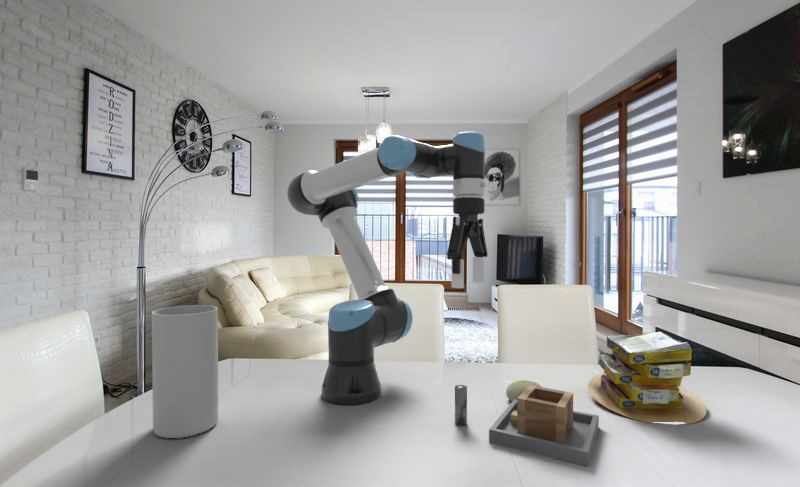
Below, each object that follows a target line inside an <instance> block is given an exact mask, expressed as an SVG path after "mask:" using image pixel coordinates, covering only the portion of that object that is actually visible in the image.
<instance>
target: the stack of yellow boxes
mask: <svg viewBox="0 0 800 487" xmlns="http://www.w3.org/2000/svg"><path fill="white" fill-rule="evenodd" d="M606 348H608V349H610V351H611V353H608V352H604V351H601V350H599V349H598V352H599V353H598V355H599V356H598V357H599V360H598V366H600V367H601V368H602V370H603V373H600V374H597V375H595V376H593V377H592V378H591V379H590V380H589V381H588V383H587V390H588V392H589V394H590V395H591V397H592V398H593V399H594V400H595V401H596V402H598V403H599V404H600V405H602V406H603V407H605V408H606V409H608V410H611V411H613V412H615V413H616V414H619V415H622V416H624V417H627V418H630V419H633V420H636V421H639V422H645V423H649V424H654V423H653V422H676V421H677V422H684V423H689V424H688V425H690V424H694V423H697V422H700V421H702V419H704V418H705V417H706V415H707V407H706V405H705V403H704V401H703V400H702V399H701V398H700V397H699V396H698V395H696V394H695V393H693V392H692V391H691V390H690V389H687V388H685V387H683V386H681V383H682V379H683V377H687V376H688V377H689V376H690V375H691V372H692V371H691V369H692V363H691V362H689V361H692V358H693V357H692V355H693V349H692V347H691V345H690V344H689V342H688V341H687V342H681V341H679V340H677V339H676V338H673V337H671V335H668V334H665V333H663V332H662V331H656V332H651V333H644V334H640V333H637V334H636V333H632V334H628V335H626V334H617V335H613V334H612V335H608V336H606ZM650 422H651V423H650Z"/></svg>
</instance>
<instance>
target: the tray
mask: <svg viewBox="0 0 800 487" xmlns="http://www.w3.org/2000/svg"><path fill="white" fill-rule="evenodd" d="M513 411H517V400H515V399H514V400H513V401H512V402H510V403H509V405H508V406H507V407H506V408H505V410H504V411H503V412H502V413H501V414H500V416H499V417H498V418H497V419H496V420H495V421H494V422H493V423H492V425H491V426H490V428H488V442H489V443H492V444H496V445H500V446H504V447H507V448H512V449H515V450H519V451H520V450H521V451H524V452H528V453H530V454H531V453H532V454H535V455H540V456H545V457H547V458H552V459H556V460H560V461H564V462H568V463H571V464H575V465H579V466H584V467H589V463H590V460H591V456H592V452H593V450H594V445H595V442H596V438H597V434H598V430H599V428H600V427H599V423H600V422H599V419H600V418H599V416H600V415H597V414H592V413H587V412H582V411H578V410H577V411H576V410H573V427H572V429H571V431H570V433H569V435H568V437H567V439H566V441H565V443H564V444H561V443H557V442H553V441H549V440H545V439H541V438H537V437H533V436H529V435H525V434H521V433H517V425H514V424H511V414H512V412H513Z"/></svg>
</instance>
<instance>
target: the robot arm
mask: <svg viewBox="0 0 800 487" xmlns="http://www.w3.org/2000/svg"><path fill="white" fill-rule="evenodd" d="M485 150H486V149H485V138H484V135H482V134H481V133H479V132H476V131H462V132H458V133H455V134H454V135H453V138H452V143H450V144H446V145H438V146H437V145H430V144H428V143H424V142H420V141H417V140H414V139H411V138H409V137H406V136H404V135H403V136H401V135H396V134H395V135H394V134H393V135H392V134H391V135H388V136H386V137H385V138H384V139H383V140H382V142H380V144H379V147H376V148H373V149H370V150H368V151H366V152H364V153H361V154H358V155H355V156H353V157H350V158H348V159H346V160H343V161H341V162H338V163H336V164H333V165H331V166H327V167H326V168H323V169H320V170H318V171H316V170H308V171H305V172H302V173H301V174H300V173H299V174H298V175H296V176H295V177H294V178H293V179H292V180H291V181H290V183H289V184H288V187H287V191H286V192H287V195H286V196H287V200H288V202H289V204H290V205H291V207H292V208H293V209H294V210H295V211H297V212H299V213H301V214H303V215H307V216H308V215H309V216H317V218H318V219H319V221H320V224H321V225H322V227H323V228H326V229H329V232H330V235H331V237H332V239H333V241H334V244H335V246H336V248H337V250H338V253H339V256H340V257H341V260H342V262H343V264H344V267H345V269H346V271H347V273H348V274H347V275H348V276H349V279H350V281H351V283H352V286H353V288H354V290H355V293H356V295H357V297H358V299H354V300H345V301H343V302H339V303H336V304H334V305H333V306H332V307H331V308H330V310H329V311H328V320H327V332H328V333H327V336H328V339H327V340H328V365H327V369H326V372H325V375H324V378H323V382H322V384H321V385H322V386H321V398H322V399H323V398H324V399H325V401H326V400H327V401H326V402H328V401H329V402H328V403H331V404H335V403H336V405H343V404H346V406H347V405H361V404H366V403H369V401H370V402H372V401H374V399H375V400H376V399H378V398H379V397H380V396H381V393H382V389H381V388H382V385H381V381H380V379H379V376H378V372H377V369H376V366H375V348H378V347H380V346H384V345H386V344H390V343H395V342H397V341H399V340H401V339H403V338H404V337H405V338H406V336H407V335H408V334H409V332H410V331H411V328H412V325H413V312H412V309H411V307H410V305H409V303H407V301H405V300H403V299H402V298H398V297H397V294H396V293H395V291H394V289H393V288H391V287H389V286H387V285H386V284H385V281H384V279H383V277H382V275H381V272H380V271H379V269H378V266H377V263H376V261H375V259H374V257H373V255H372V252H371V251H370V247H369V246H368V244H367V240H366V239H365V237H364V234H363V233H362V230H361V228H360V225H359V223H358V221H357V218H356V217H357V215H358V210H357V208H358V207H359V203H358V201H359V196H358V192H357V190H356V189H358V188H360V187H363V186H366V185H369V184H372V183H375V182H378V181H381V180H384V179H387V178H389V177H393V176H396V175H399V174H403V173H411V174H413V175H414V176H415V178H418V179H425V178H426V179H430V178H437V177H445V176H452V178H453V179H452V196H453V197H455V198H454V199H453V200H452V203H453V204H452V212H453V214H454V215H458V216H453V218H452V228H451V231H450V232H451V233H450V236H449V242H448V246H447V247H448V248H447V253H446V258H447V260H451V288H453V289H464V288H465V286H464V284H465V282H464V281H465V280H464V279H465V274H464V273H465V272H464V270H465V264H464V263H465V260H464V259H463V257H464V256H463V255H464V252H465V249H466V246H467V243H468V240H469V243H470V245H471V250H472V252H473V255H474V256H472V283H479V284H480V283H481V284H483V283H484V282H485V280H484V279H485V276H484V275H485V274H484V273H485V270H484V269H485V258H488V249H487V243H486V238H485V231H484V218H482V217H481V218H478V216H479V215H482V214H484V213H485V198H483V197H484V196H485V187H486V186H487V183H486V182H485V154H486V151H485ZM324 399H323V400H324Z"/></svg>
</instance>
